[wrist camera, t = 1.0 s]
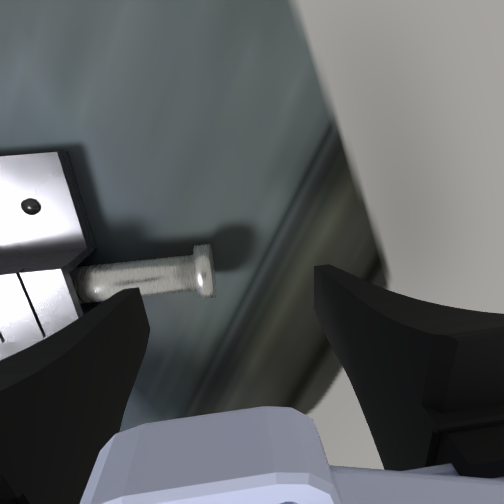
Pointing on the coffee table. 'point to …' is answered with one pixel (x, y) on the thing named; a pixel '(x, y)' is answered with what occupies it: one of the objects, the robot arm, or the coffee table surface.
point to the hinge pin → (148, 276)
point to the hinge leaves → (39, 248)
